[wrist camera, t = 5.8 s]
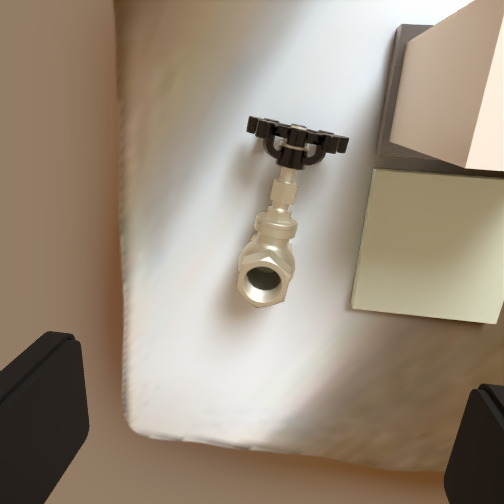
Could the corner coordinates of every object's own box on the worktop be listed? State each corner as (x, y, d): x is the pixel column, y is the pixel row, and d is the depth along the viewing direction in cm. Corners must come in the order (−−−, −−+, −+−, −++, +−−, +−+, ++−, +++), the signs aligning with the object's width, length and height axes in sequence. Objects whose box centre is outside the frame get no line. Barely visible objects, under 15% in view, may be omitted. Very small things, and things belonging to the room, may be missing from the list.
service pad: (373, 167, 28) (376, 170, 27) (531, 180, 27) (541, 183, 26) (350, 301, 32) (352, 308, 31) (488, 316, 31) (496, 324, 30)
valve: (302, 282, 32) (343, 134, 28) (303, 322, 26) (356, 141, 22) (225, 264, 32) (254, 115, 28) (208, 300, 26) (242, 116, 22)
